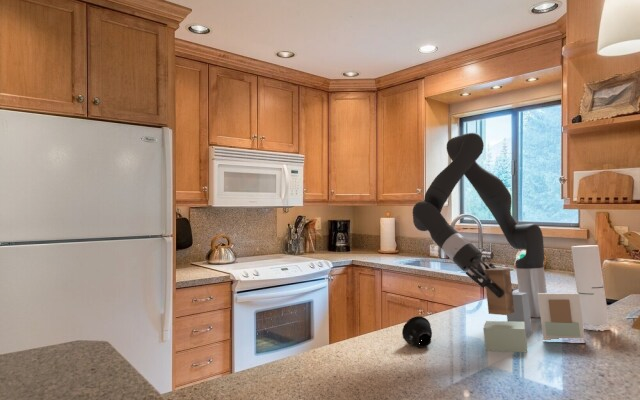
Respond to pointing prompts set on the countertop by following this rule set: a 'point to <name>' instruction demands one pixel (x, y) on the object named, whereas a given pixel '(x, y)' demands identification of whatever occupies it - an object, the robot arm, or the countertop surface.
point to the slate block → (521, 311)
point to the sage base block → (505, 336)
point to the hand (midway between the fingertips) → (506, 294)
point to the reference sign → (560, 315)
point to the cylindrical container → (590, 284)
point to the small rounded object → (417, 331)
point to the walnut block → (504, 282)
